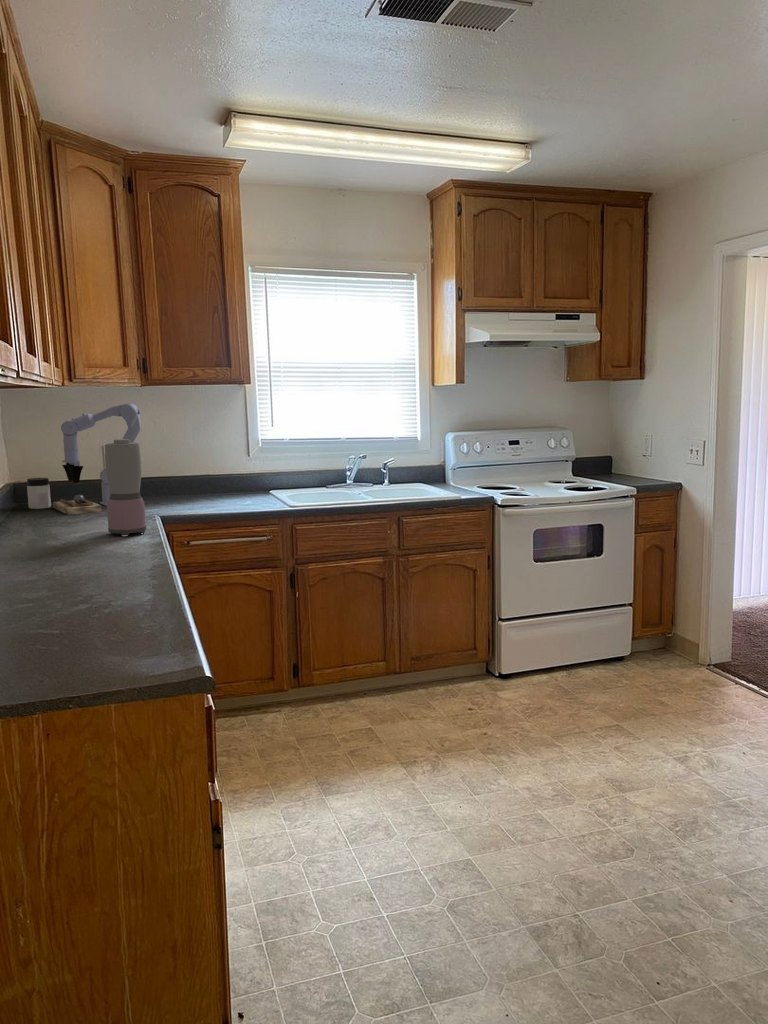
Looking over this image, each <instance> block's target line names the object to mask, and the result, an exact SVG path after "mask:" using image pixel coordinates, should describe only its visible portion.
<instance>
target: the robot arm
mask: <svg viewBox="0 0 768 1024" xmlns="http://www.w3.org/2000/svg"><path fill="white" fill-rule="evenodd" d="M111 417H122V418H123V420H124V421H125V424H126V426H127V430H126V431H125V433H124V435H123V437H122V439H130V442H132V443H135V440H136V439H137V438H138V436H139V433H140V432H141V430H142V422H141V421H142V420H141V411H140V409H139V408H138V406H137V405H136V404H135V403H131V402H129V403H123V404H120V405H115V406H111V407H109V408H107V409H104V410H102V411H99V412H97V413H95V414H92V413H86V412H85V413H81V415H80V416H78V417H72V418H70V419H71V420H65V421H64V422H63V423H62V424H61V426H60V429H61V432H62V435H63V439H62V440H63V451H64V452H63V453H64V460H61V463H65V464H62V467H63V469H64V471H65V474H66V477H67V481H68V482H73V483H74V484H75V483H76V484H79V483H80V480H81V475H82V474H81V473H82V471H83V470H84V465H81V464H80V463H81V459H80V448H79V447H80V446H79V438H78V432H83V431H86V430H88V429H90V428H93V427H95V425H96V423H97V422H100V421H102V420H106V419H107V418H111ZM99 479H100V481H101V497H102V498H101V499H102V500H101V501H100V502H99V505H102V506H107V504H108V501H109V498H110V489H109V485H108V481H107V476H106V467H105V468H104V469H101V472H99Z"/></svg>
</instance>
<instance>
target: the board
mask: <svg viewBox="0 0 768 1024" xmlns="http://www.w3.org/2000/svg"><path fill="white" fill-rule="evenodd" d="M52 505H53V506H52V507H53V508H54V509H55V510H57V511H60V512H61V513H64V514H65V515H67V516H70V515H71V516H72V515H81V514H90V513H98V512H100V513H101V512H102V511H103V508H102V504H100V503H99V504H98V503H97V502H93V501H91V500H88V499H85V500H84V502H83V503H82V504H77V503H75V501H74V499H73V500H66V499H64V498H61V499H60V500H59V501H53V502H52Z"/></svg>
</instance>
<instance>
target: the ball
mask: <svg viewBox="0 0 768 1024" xmlns="http://www.w3.org/2000/svg"><path fill="white" fill-rule="evenodd" d="M73 500H74V501H75V503H77V504H82V503H83V502H84V500H85V496H84V495H83V494H80V493H78V494H76V495H74V498H73Z"/></svg>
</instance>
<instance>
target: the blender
mask: <svg viewBox="0 0 768 1024" xmlns="http://www.w3.org/2000/svg"><path fill="white" fill-rule="evenodd" d="M104 463H105V464H104V465H105V468H106V476H107V481H108V485H109V489H110V498H109V501H108V504H107V505H106V511H107V512H106V513H107V525H108V527H107V529H108V533H110V534H121V536H122V535H129V534H134V533H144V532H145V533H146V530H147V524H146V523H147V521H146V506H145V501H144V499H143V497H142V496H141V483H142V481H141V480H142V458H141V450H140V444H139V443H138V442H134V443H132V442H130V439H123V438H118V439H117V438H116V439H113V442H108V443H105V445H104ZM129 536H130V535H129Z"/></svg>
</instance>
